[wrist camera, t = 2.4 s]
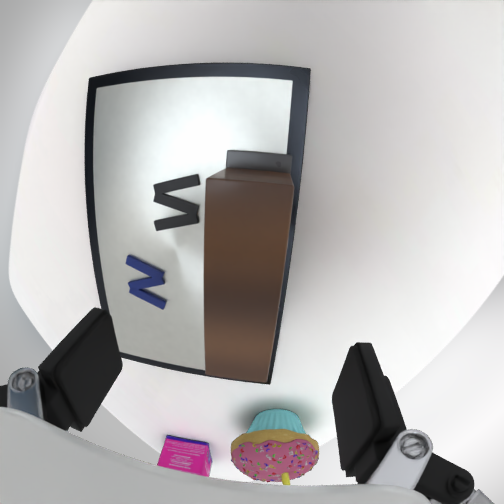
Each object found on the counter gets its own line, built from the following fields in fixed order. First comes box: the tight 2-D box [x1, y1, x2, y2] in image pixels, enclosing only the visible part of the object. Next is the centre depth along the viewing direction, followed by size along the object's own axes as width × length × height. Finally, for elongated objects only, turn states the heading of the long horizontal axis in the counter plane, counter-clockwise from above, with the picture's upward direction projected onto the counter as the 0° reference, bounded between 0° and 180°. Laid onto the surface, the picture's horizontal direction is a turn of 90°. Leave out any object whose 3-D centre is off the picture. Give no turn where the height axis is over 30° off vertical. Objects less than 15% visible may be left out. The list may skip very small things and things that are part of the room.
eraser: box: [204, 150, 294, 382], centre depth 16 cm, size 13×4×6 cm, turn 176°
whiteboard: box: [85, 63, 311, 384], centre depth 19 cm, size 24×15×1 cm, turn 176°
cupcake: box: [231, 409, 319, 485], centre depth 21 cm, size 9×8×12 cm
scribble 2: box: [153, 174, 200, 231], centre depth 17 cm, size 4×3×1 cm
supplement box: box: [157, 435, 212, 477], centre depth 25 cm, size 6×6×12 cm
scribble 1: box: [125, 255, 167, 310], centre depth 20 cm, size 4×3×1 cm
